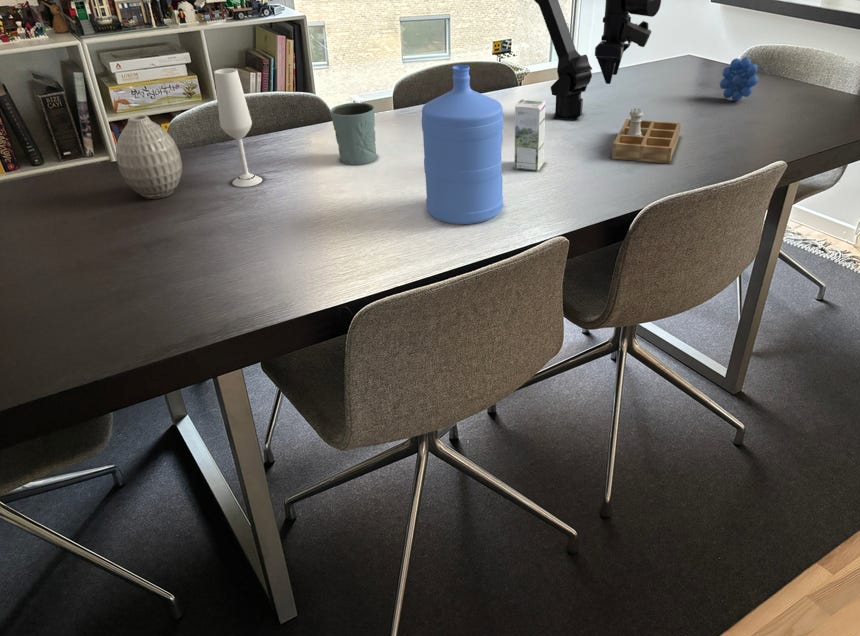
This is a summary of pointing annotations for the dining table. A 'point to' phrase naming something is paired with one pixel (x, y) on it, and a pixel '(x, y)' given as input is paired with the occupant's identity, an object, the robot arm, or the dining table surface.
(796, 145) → the dining table surface
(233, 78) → the champagne flute
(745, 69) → the grapes
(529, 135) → the syrup box
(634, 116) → the rook chess piece
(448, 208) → the water jug
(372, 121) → the green embossed cup
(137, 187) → the vase
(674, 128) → the rack
